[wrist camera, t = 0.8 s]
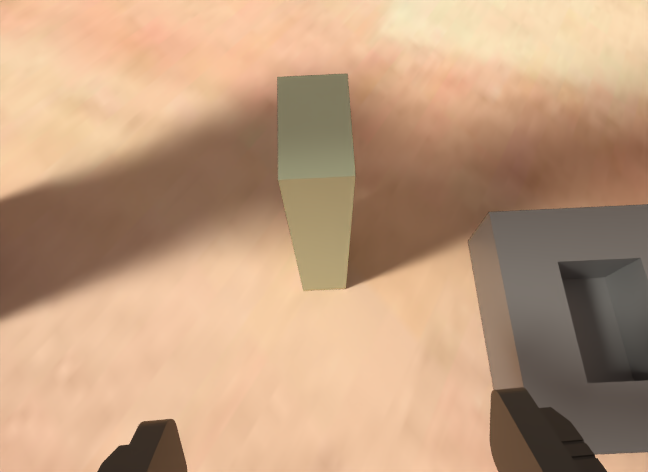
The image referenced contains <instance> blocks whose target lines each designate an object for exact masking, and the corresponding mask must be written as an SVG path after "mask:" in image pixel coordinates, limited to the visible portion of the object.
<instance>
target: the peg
mask: <svg viewBox="0 0 648 472" xmlns="http://www.w3.org/2000/svg"><path fill="white" fill-rule="evenodd" d="M277 99H278V182H279V187H280V191H281V195H282V200H283V204H284V208H285V213H286V217H287V222H288V226H289V230H290V235H291V239H292V243H293V248H294V252H295V257H296V261H297V265H298V270H299V274H300V278H301V283H302V287H303V291H312V290H333V289H346V280H347V269H348V257H349V246H350V235H351V223H352V212H353V200H354V189H355V177H356V175H355V162H354V149H353V137H352V124H351V111H350V98H349V86H348V74H329V75H308V76H287V77H277Z"/></svg>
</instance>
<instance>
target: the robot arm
mask: <svg viewBox="0 0 648 472" xmlns="http://www.w3.org/2000/svg"><path fill="white" fill-rule="evenodd" d="M490 446H491V452H492V456H493V459H494V462H495V465H496V467H497V469H498V472H607V471H606V469H605V468H604V467H603V465H602V464H601V463H600V461H599V460H598V458H595V454H594V453H593V452H592V450H591V449H590V447H589V446H588V445H587V443H584V439H583V438H582V436H581V435H580V434H579V432H578V431H577V430H576V428H575V427H574V425H573V424H572V423H571V421H569V420H568V419H567V418H565V417H564V416H562V415H561V414H560V413H558V412H557V411H556V410H554V409H553V408H552V407H545V408H539V407H538V406H537V404H536V403H535V401H534V400H533V398H532V397H531V395H530V394H529V392H528V391H527V390H526V389H525V388H524V387H520V388H509V389H498V390H493V391H492V393H491V412H490ZM98 472H187V465H186V461H185V457H184V453H183V449H182V445H181V441H180V438H179V434H178V430H177V426H176V423H175V421H174V420H173V419H165V420H154V421H144V422H141V423H140V424H139V426H138V428H137V430H136V432H135V434H134V436H133V438H132V440H131V442H130V444H129V445H121V446H119V447H118V448H117V449H116V450H115V451H114V452H113V453H112V454H111V455H110V456H109V457H108V458H107V459H106V460H105V461H104V462H103V463H102V464H101V466H100V468H99V470H98Z"/></svg>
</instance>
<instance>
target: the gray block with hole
mask: <svg viewBox="0 0 648 472" xmlns="http://www.w3.org/2000/svg"><path fill="white" fill-rule="evenodd" d="M468 245H469V250H470V256H471V262H472V268H473V273H474V279H475V285H476V291H477V296H478V302H479V308H480V314H481V320H482V325H483V331H484V337H485V343H486V348H487V354H488V360H489V366H490V372H491V377H492V383H493V389H494V390H498V389H509V388H520V387H524V388H525V389H526V390H527V391H528V392H529V394H530V395H531V397H532V398H533V400H534V401H535V403H536V404H537V406H538V407H539V408H545V407H552V408H553V409H554V410H556V411H557V412H558V413H560V414H561V415H562V416H564V417H565V418H567V419H568V420H569V421H571V423H572V424H573V425H574V427H575V428H576V430H577V431H578V432H579V434H580V435H581V436H582V438H583V439H584V443H587V445H588V446H589V447H590V449H591V450H592V452H593V453H594V454H616V453H638V452H648V204H647V205H626V206H604V207H583V208H562V209H541V210H520V211H499V212H489V213H488V214H487V216H486V217H485V218H484V220H483V221H482V222H481V224H480V225H479V227H478V228H477V229H476V231H475V232H474V233H473V235H472V236H471V238H470V239H469V240H468Z"/></svg>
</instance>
